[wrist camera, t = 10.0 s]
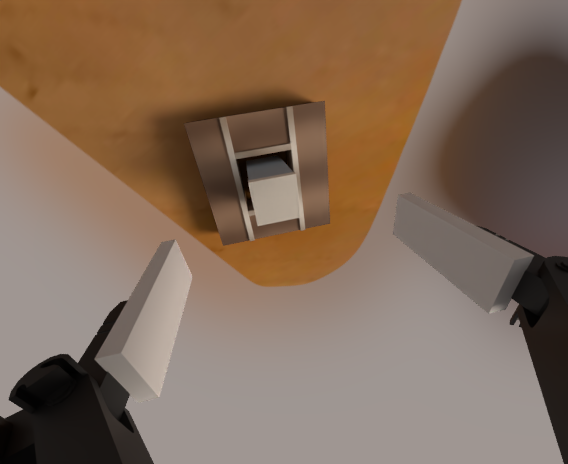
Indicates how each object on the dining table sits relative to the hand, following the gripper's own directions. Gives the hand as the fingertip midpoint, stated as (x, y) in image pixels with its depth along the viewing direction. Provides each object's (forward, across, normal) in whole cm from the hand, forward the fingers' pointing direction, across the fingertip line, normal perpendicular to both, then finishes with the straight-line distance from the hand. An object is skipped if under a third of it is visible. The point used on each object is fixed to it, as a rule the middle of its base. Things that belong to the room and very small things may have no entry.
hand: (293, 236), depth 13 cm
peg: (+17, 0, -1) cm, 17 cm away
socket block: (+17, 0, -1) cm, 17 cm away
